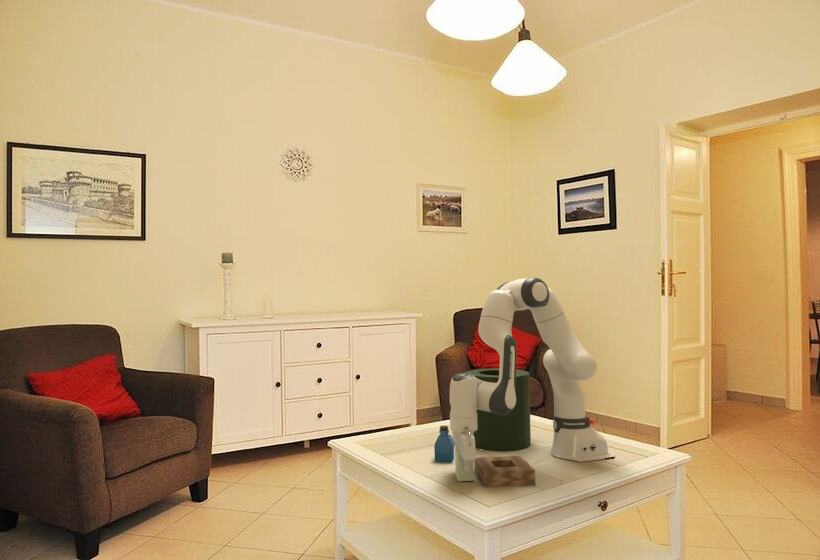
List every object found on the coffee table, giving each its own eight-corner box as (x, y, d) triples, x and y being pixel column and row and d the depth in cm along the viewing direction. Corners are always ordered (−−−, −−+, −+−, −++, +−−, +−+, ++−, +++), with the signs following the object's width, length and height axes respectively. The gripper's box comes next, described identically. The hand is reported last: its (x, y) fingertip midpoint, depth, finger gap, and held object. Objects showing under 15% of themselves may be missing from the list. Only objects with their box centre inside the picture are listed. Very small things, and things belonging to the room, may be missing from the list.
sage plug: (470, 475, 186) (470, 448, 187) (473, 480, 181) (473, 452, 182) (455, 476, 186) (455, 448, 186) (458, 481, 181) (457, 452, 181)
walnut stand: (520, 468, 194) (520, 455, 194) (535, 484, 178) (535, 470, 178) (474, 470, 192) (474, 457, 192) (485, 487, 176) (484, 472, 176)
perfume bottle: (451, 462, 202) (451, 428, 202) (434, 462, 203) (434, 428, 203) (454, 457, 208) (453, 424, 208) (437, 457, 209) (436, 424, 209)
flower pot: (543, 442, 227) (541, 372, 228) (505, 455, 210) (504, 379, 210) (492, 431, 245) (491, 366, 246) (454, 443, 228) (453, 373, 228)
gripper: (480, 431, 174) (481, 477, 174) (467, 416, 194) (468, 457, 194) (460, 432, 173) (460, 477, 173) (449, 417, 194) (449, 458, 193)
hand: (464, 467), depth 184 cm, fingers closed on sage plug, 5 cm apart
